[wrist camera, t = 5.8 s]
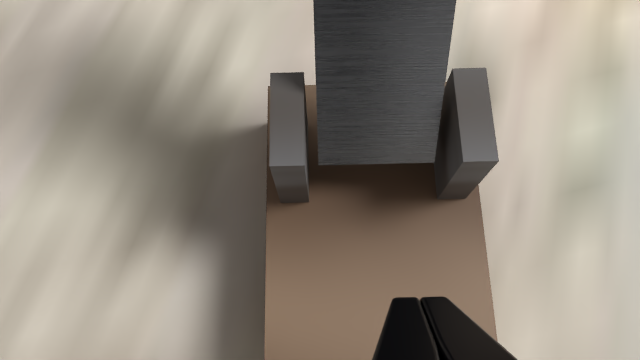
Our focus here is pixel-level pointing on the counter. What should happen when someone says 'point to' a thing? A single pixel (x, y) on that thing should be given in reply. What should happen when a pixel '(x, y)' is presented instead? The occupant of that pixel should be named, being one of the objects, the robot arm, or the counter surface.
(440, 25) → the nutcracker lever
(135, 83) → the counter surface
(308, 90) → the stand
